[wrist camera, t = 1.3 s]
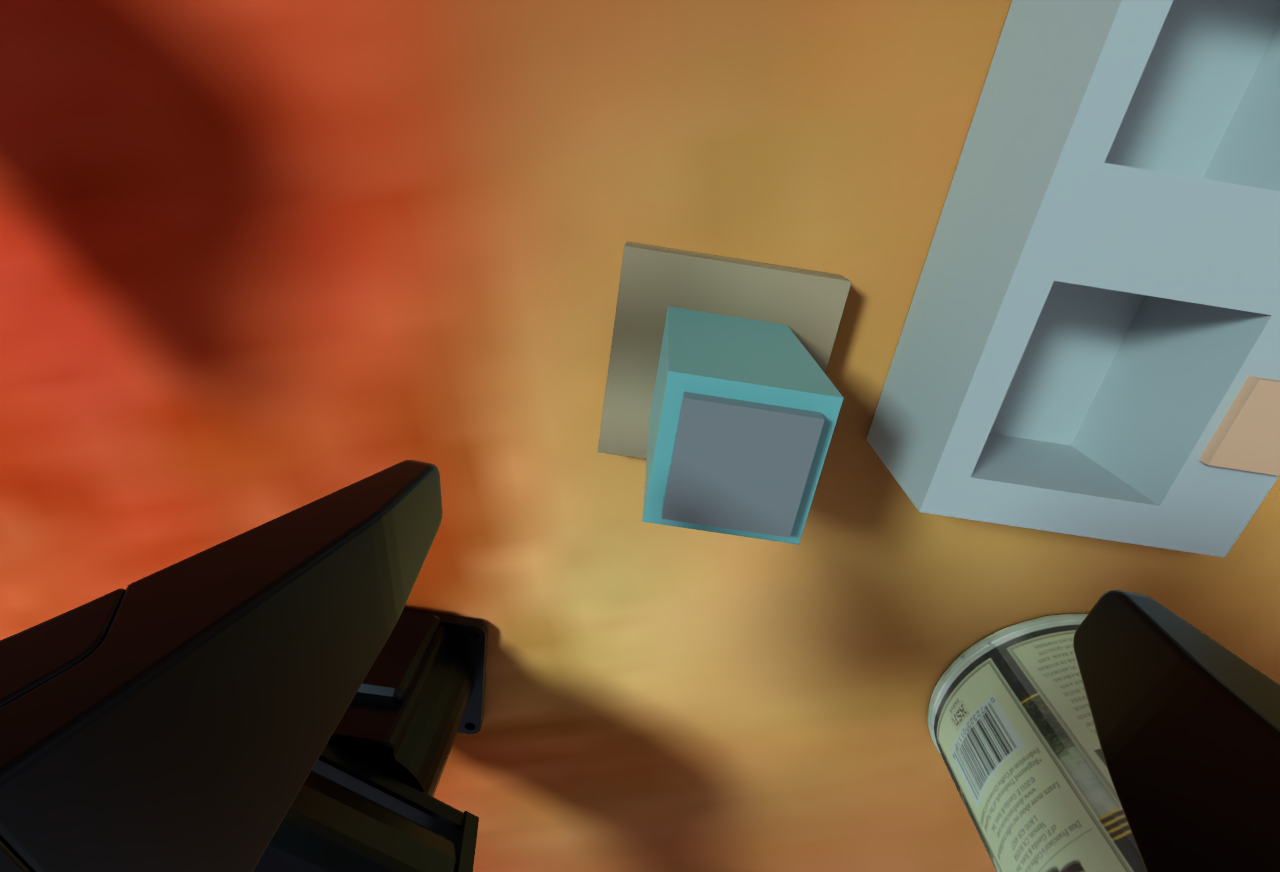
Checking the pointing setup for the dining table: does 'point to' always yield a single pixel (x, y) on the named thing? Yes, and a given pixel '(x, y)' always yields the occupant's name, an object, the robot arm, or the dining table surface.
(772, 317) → the beige square plate
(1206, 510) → the socket block
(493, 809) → the dining table surface
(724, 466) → the plug
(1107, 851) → the coffee can
